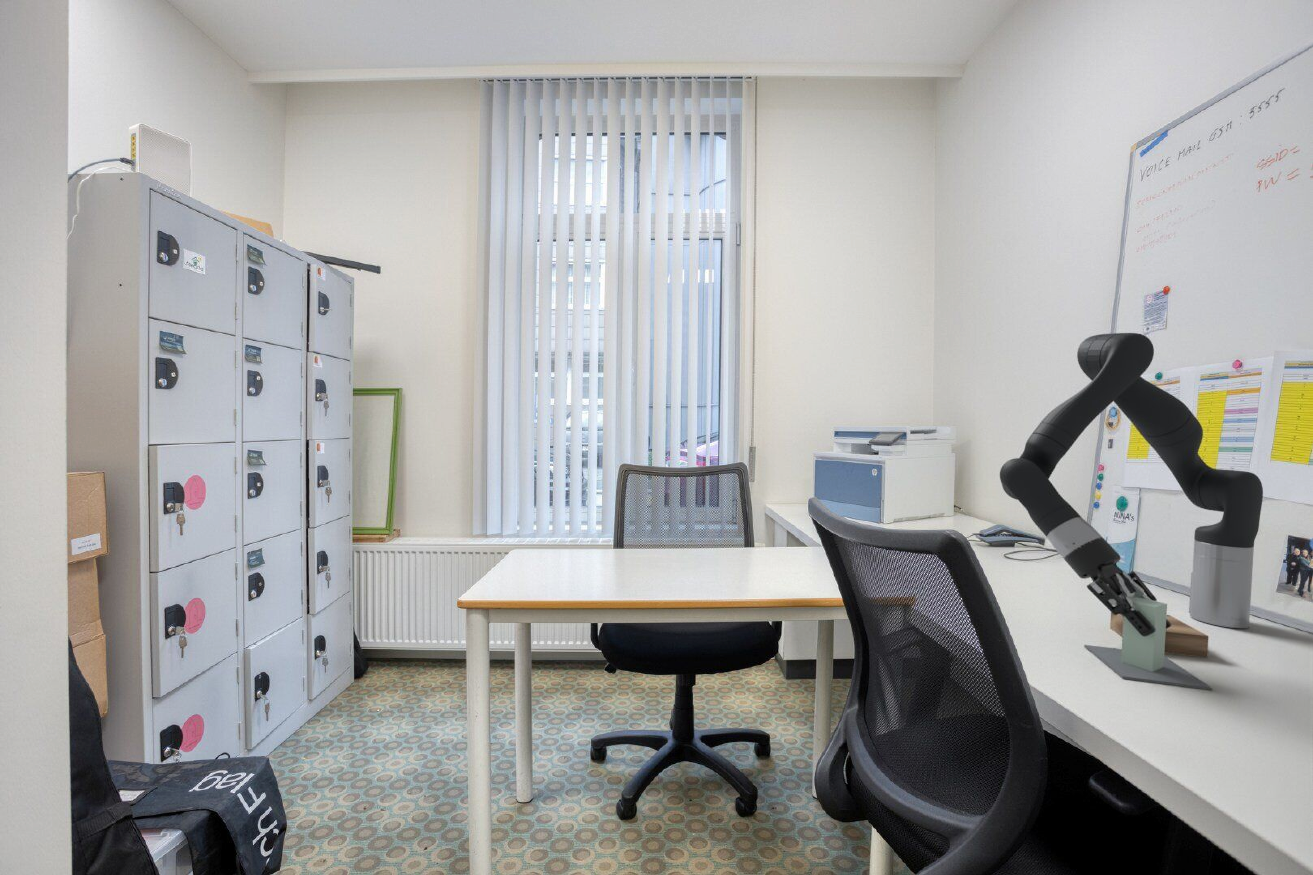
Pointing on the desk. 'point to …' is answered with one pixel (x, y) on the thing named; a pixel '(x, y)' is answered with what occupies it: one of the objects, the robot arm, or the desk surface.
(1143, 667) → the sage block
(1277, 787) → the desk surface
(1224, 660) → the desk surface
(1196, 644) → the walnut block
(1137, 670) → the charcoal mat
